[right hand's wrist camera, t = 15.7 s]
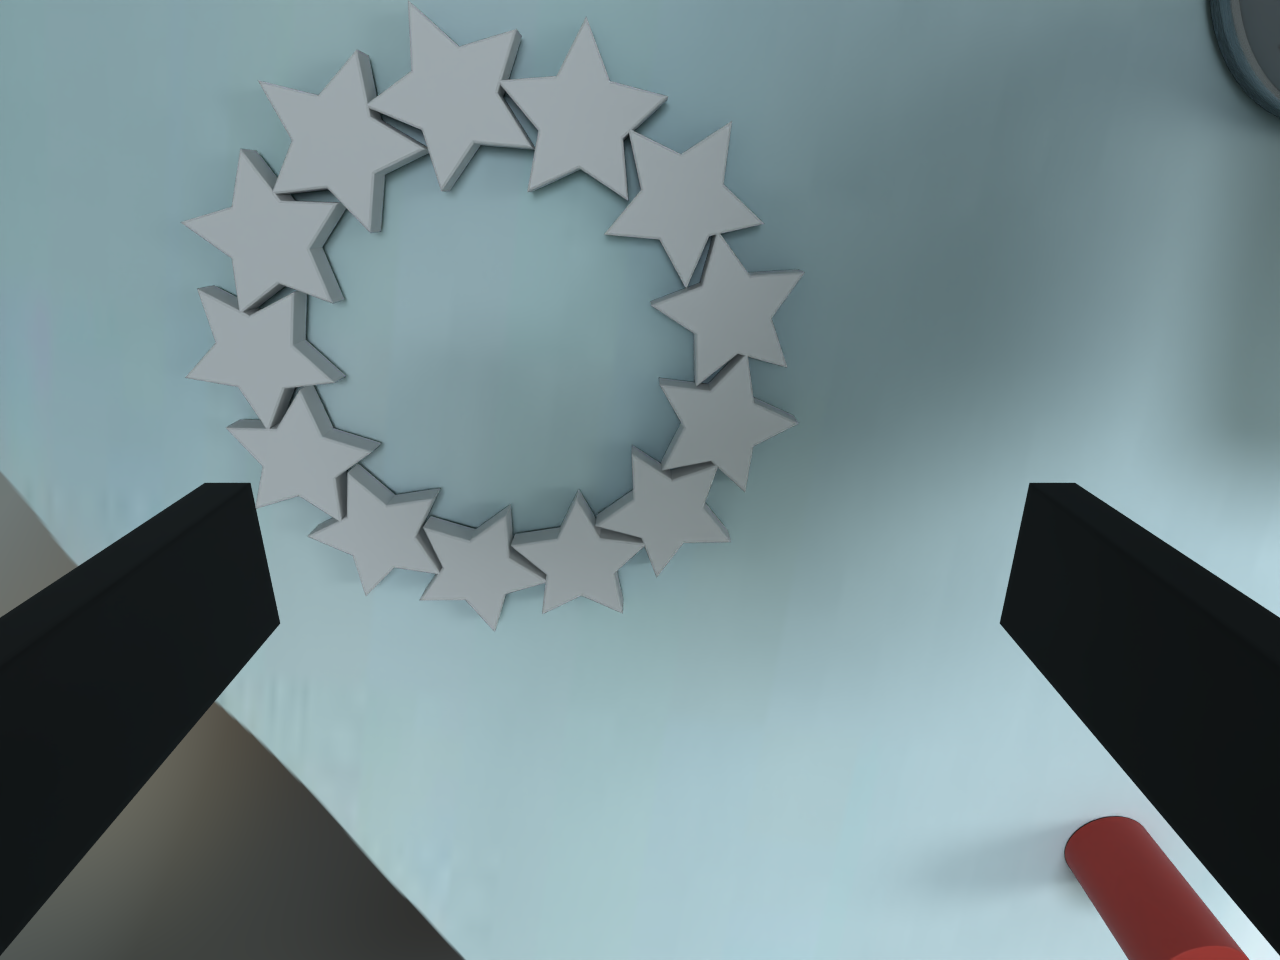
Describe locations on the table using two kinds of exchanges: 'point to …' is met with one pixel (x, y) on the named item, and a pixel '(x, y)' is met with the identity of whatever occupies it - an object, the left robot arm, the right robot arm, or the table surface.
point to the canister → (1144, 895)
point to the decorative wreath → (453, 130)
